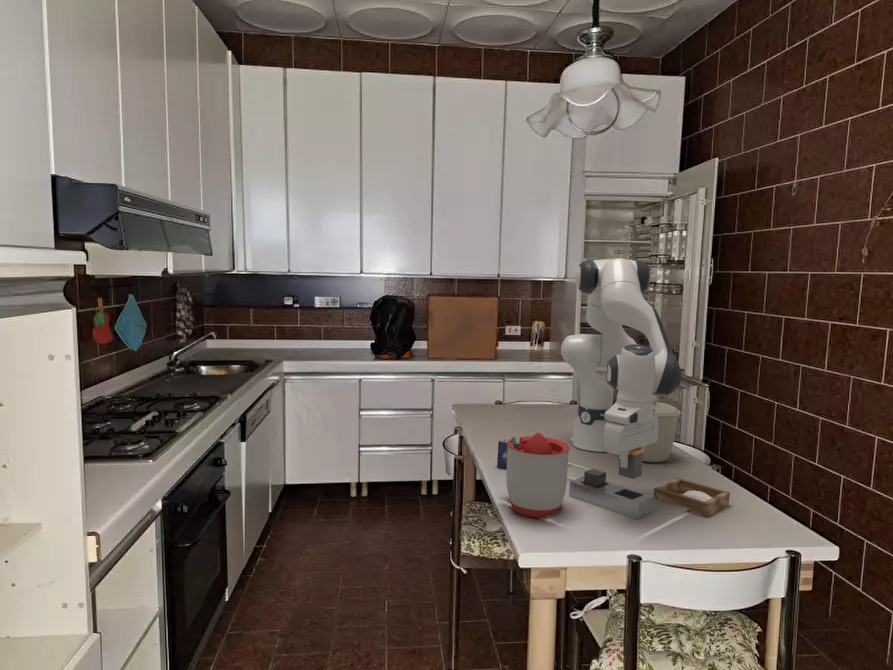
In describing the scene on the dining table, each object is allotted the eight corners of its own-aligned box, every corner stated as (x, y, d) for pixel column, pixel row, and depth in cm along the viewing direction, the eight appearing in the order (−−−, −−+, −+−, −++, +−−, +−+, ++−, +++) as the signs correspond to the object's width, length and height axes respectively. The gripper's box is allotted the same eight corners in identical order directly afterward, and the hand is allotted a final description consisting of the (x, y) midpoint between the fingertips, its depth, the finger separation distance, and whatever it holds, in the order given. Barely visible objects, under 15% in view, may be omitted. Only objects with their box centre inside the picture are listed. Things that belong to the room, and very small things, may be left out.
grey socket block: (586, 492, 171) (587, 475, 170) (653, 515, 156) (655, 496, 156) (568, 499, 166) (569, 481, 165) (637, 523, 151) (638, 503, 151)
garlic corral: (677, 489, 176) (678, 477, 175) (728, 505, 165) (729, 492, 165) (653, 500, 167) (654, 488, 166) (706, 517, 156) (707, 504, 156)
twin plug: (591, 494, 167) (593, 468, 167) (604, 498, 164) (606, 472, 164) (583, 497, 165) (584, 471, 164) (595, 501, 162) (597, 475, 161)
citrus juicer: (519, 492, 170) (523, 420, 167) (577, 509, 159) (581, 432, 157) (485, 508, 158) (489, 430, 155) (545, 528, 147) (550, 445, 144)
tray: (568, 467, 192) (568, 462, 192) (602, 478, 183) (602, 472, 183) (544, 475, 184) (544, 469, 184) (578, 487, 175) (578, 480, 175)
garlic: (717, 507, 164) (719, 493, 164) (708, 514, 159) (710, 500, 159) (687, 499, 169) (688, 485, 169) (677, 505, 164) (678, 491, 164)
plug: (627, 471, 159) (628, 445, 158) (641, 475, 156) (643, 448, 156) (618, 474, 156) (620, 447, 156) (632, 479, 153) (634, 451, 153)
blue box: (528, 470, 188) (529, 436, 187) (527, 473, 185) (528, 438, 184) (497, 467, 190) (498, 433, 189) (496, 470, 187) (497, 436, 186)
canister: (681, 469, 195) (686, 403, 192) (621, 463, 198) (625, 398, 196) (672, 453, 212) (677, 392, 210) (617, 448, 216) (621, 388, 214)
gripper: (644, 403, 164) (640, 454, 165) (600, 413, 150) (597, 469, 151) (666, 407, 159) (662, 460, 161) (623, 419, 145) (620, 476, 147)
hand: (630, 465), depth 156 cm, fingers closed on plug, 4 cm apart
